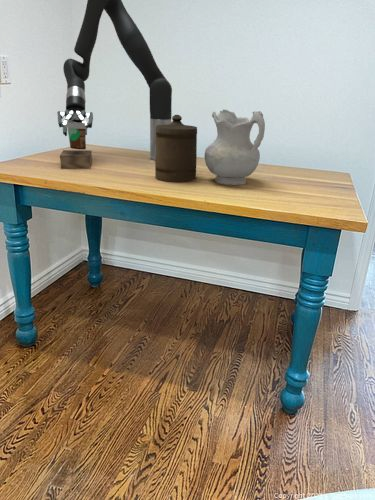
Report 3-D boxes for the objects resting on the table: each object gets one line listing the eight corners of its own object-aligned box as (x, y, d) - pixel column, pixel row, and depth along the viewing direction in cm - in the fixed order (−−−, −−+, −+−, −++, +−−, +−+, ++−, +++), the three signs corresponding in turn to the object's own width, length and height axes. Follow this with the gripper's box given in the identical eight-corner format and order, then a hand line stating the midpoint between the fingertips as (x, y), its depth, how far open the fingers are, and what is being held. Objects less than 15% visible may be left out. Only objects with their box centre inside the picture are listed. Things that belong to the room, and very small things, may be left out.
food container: (64, 145, 168) (62, 119, 164) (80, 144, 170) (78, 119, 166) (70, 150, 157) (68, 123, 153) (86, 150, 160) (85, 123, 156)
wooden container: (178, 171, 162) (179, 112, 153) (204, 179, 151) (207, 116, 143) (147, 176, 153) (146, 113, 144) (172, 184, 142) (173, 117, 134)
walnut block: (92, 162, 173) (91, 150, 171) (90, 168, 162) (89, 155, 160) (64, 162, 171) (63, 150, 169) (60, 168, 160) (59, 155, 158)
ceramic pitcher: (270, 184, 151) (280, 113, 143) (250, 191, 135) (259, 110, 127) (217, 176, 161) (223, 109, 153) (192, 182, 145) (198, 106, 137)
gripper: (56, 93, 164) (54, 128, 158) (93, 95, 166) (93, 129, 160) (58, 106, 171) (57, 140, 164) (94, 108, 173) (94, 141, 167)
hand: (74, 134), depth 162 cm, fingers closed on food container, 6 cm apart
